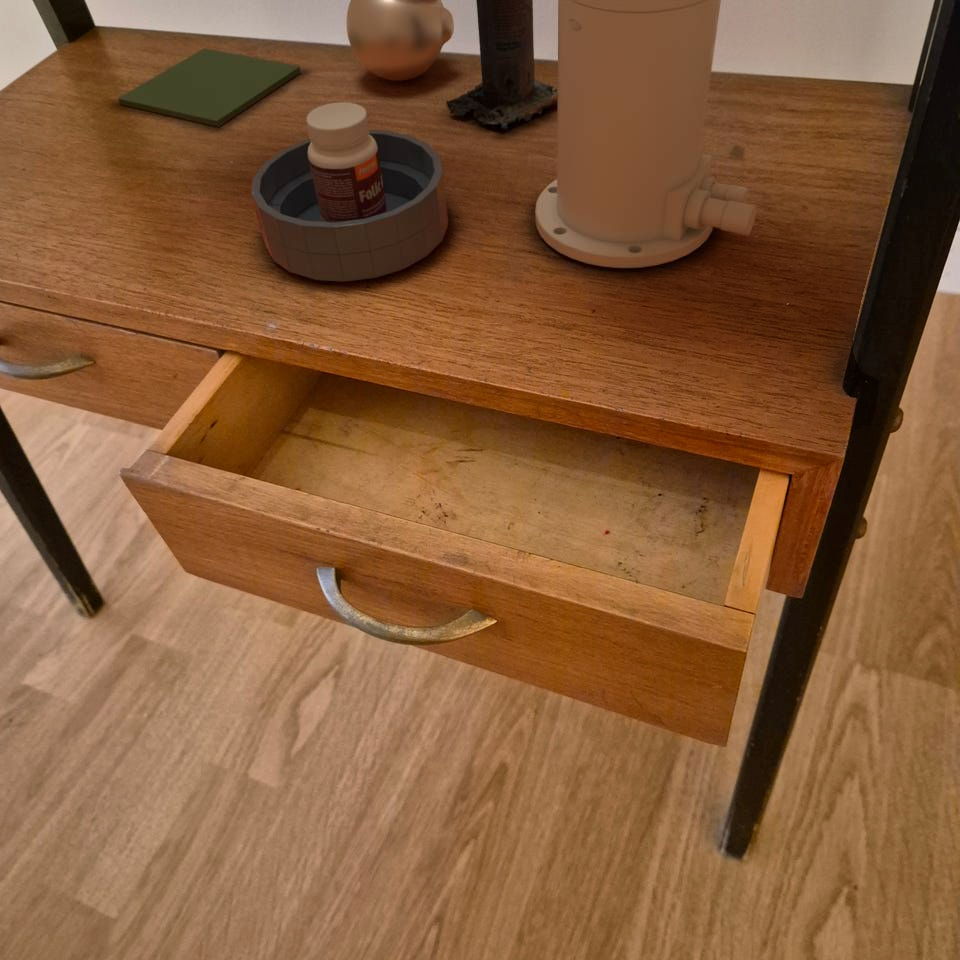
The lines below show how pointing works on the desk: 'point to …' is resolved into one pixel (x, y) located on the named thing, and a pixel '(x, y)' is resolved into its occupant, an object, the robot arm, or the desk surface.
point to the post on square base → (505, 67)
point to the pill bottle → (344, 163)
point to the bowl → (355, 243)
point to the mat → (210, 87)
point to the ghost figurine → (398, 35)
